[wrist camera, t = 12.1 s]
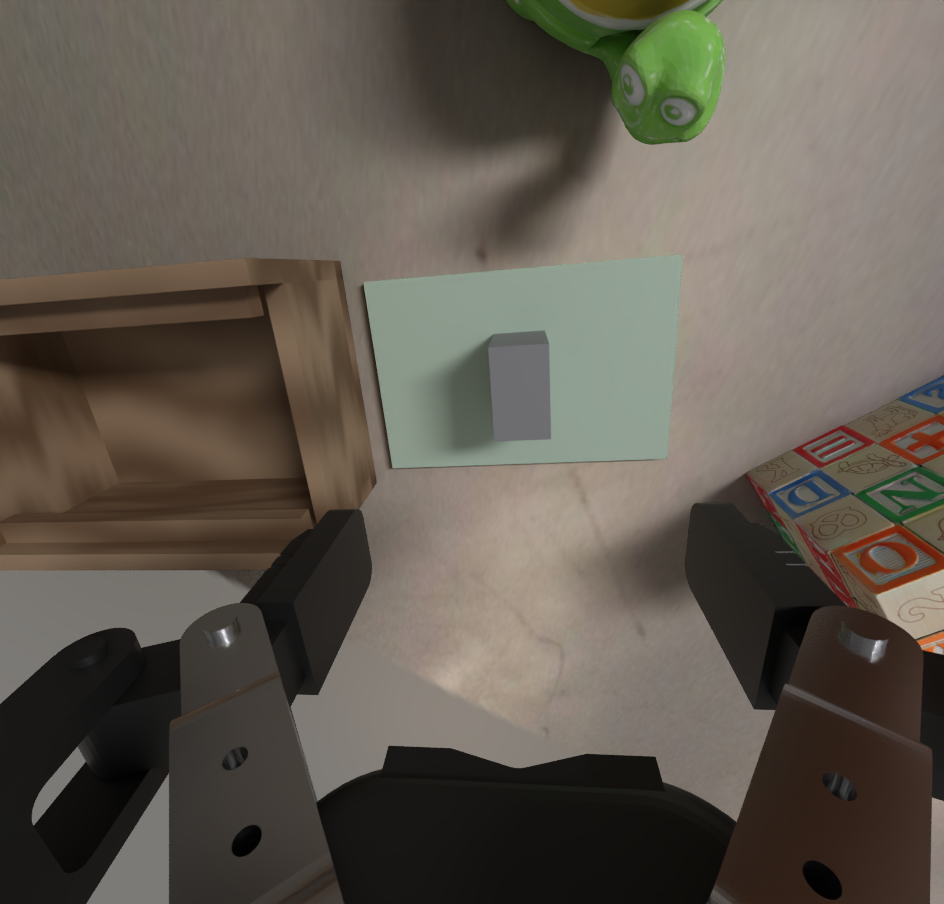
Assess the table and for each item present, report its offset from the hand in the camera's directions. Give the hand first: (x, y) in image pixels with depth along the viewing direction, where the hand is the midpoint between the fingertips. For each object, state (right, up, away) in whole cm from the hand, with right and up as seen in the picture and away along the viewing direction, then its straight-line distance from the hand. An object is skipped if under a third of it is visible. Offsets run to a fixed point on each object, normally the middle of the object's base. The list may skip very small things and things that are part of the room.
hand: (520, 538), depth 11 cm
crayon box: (-18, +6, +20) cm, 28 cm away
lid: (+2, +7, +18) cm, 20 cm away
